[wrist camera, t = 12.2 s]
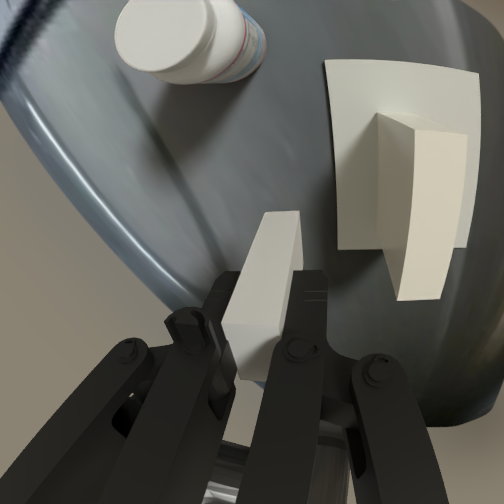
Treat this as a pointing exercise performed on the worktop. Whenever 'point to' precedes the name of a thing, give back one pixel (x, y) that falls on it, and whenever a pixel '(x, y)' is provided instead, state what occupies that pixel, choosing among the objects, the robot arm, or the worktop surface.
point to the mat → (366, 133)
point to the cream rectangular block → (418, 200)
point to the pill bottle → (190, 40)
